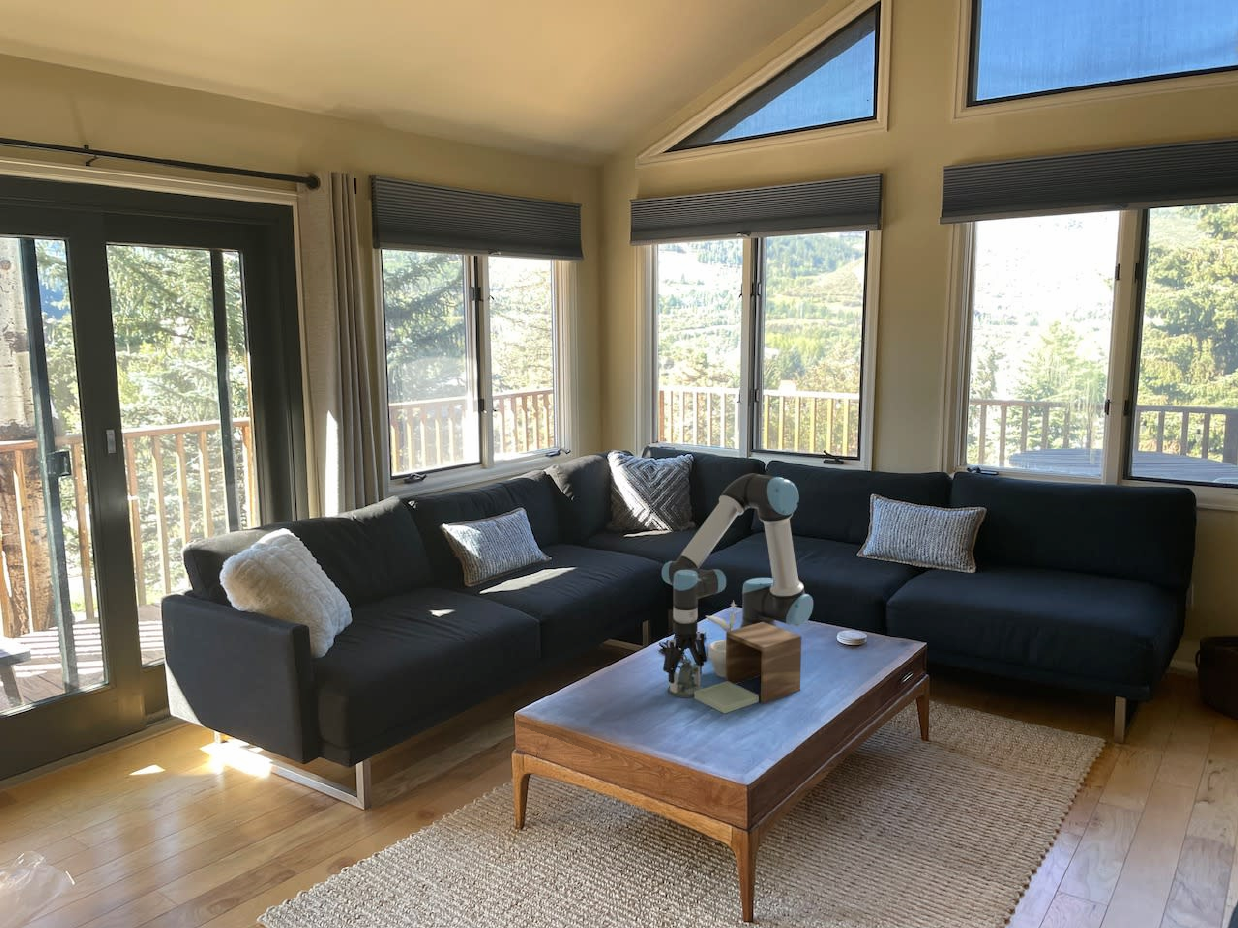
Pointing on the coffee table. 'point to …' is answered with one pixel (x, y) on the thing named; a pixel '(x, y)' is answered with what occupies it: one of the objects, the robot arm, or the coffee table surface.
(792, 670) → the shelf
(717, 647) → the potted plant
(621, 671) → the coffee table surface
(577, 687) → the coffee table surface
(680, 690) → the figurine
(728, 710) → the tray
